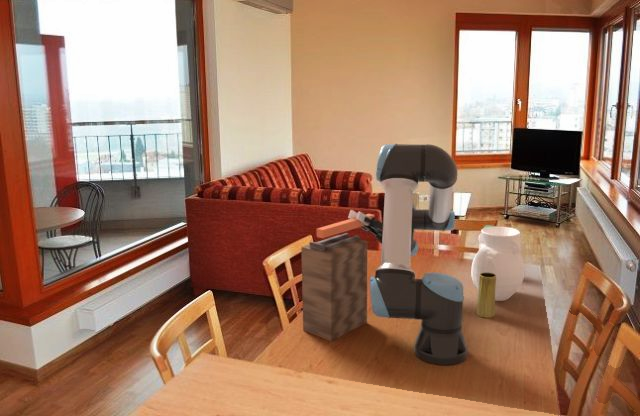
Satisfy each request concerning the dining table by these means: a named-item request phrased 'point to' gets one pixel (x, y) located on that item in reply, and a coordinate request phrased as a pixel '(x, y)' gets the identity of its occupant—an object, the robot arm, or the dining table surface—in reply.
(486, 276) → the vase
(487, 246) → the pitcher
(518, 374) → the dining table surface
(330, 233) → the lever bar
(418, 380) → the dining table surface
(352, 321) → the stand
